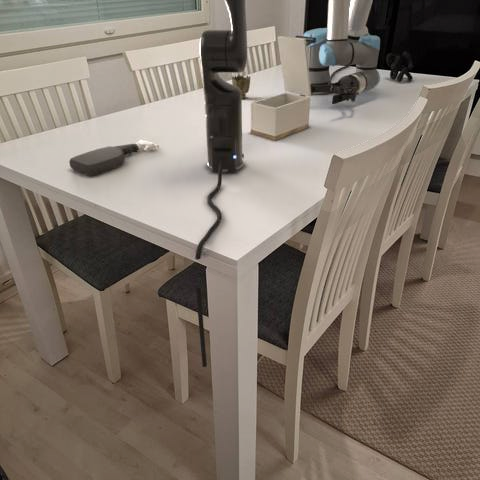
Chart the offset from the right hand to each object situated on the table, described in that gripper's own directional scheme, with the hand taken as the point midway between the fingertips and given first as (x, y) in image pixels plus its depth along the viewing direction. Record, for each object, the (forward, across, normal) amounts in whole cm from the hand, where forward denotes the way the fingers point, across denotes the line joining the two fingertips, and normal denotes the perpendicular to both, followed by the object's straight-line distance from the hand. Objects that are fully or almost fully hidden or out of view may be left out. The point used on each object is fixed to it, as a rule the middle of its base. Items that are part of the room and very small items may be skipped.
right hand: (316, 96), depth 152 cm
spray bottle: (+69, +17, -7) cm, 71 cm away
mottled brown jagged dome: (-1, +37, -7) cm, 38 cm away
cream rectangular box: (+19, 0, -7) cm, 20 cm away
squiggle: (-70, +5, -7) cm, 71 cm away
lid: (+13, 0, +12) cm, 18 cm away
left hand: (+17, 0, +33) cm, 37 cm away
